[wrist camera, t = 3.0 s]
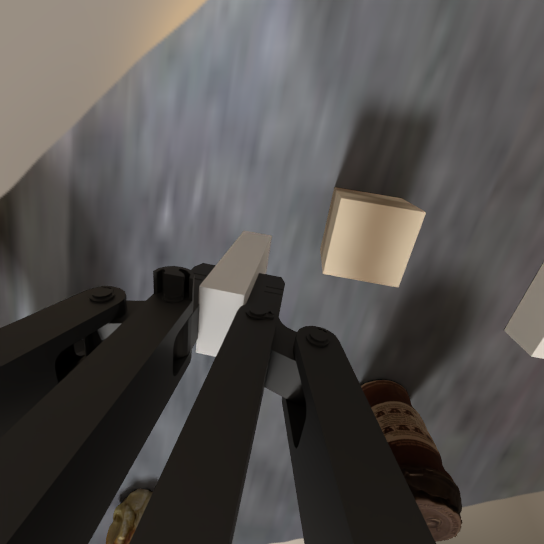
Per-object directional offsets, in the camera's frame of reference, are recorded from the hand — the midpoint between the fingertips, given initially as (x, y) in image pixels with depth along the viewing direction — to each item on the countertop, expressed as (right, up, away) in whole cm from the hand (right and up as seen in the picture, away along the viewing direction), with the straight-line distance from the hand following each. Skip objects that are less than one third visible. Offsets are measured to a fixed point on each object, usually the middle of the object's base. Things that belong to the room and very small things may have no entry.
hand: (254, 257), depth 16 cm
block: (+9, +4, +12) cm, 15 cm away
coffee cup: (+14, -16, +20) cm, 29 cm away
